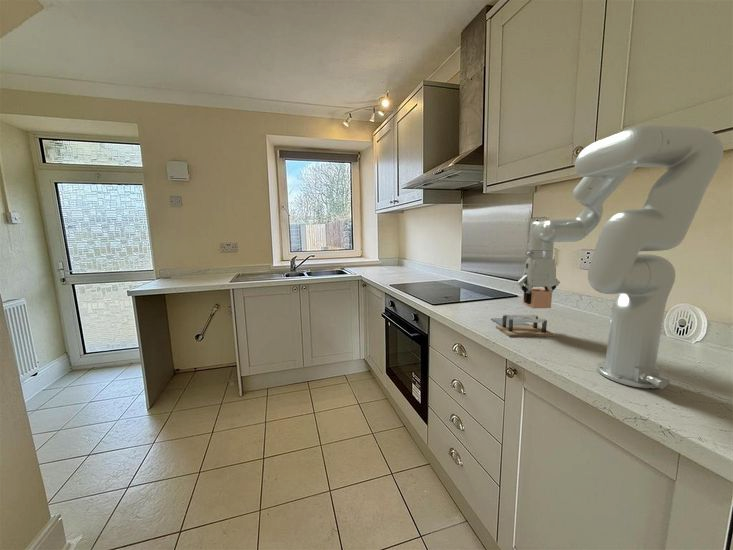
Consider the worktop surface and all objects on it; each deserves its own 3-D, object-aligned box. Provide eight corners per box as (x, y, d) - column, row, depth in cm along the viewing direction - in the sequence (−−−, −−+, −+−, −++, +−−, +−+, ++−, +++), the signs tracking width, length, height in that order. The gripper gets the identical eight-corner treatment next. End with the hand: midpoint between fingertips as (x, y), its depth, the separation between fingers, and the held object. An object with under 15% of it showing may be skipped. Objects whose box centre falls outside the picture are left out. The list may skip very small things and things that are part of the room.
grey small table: (546, 332, 104) (548, 320, 104) (513, 333, 104) (514, 321, 103) (532, 325, 113) (533, 313, 112) (501, 326, 112) (502, 314, 111)
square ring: (550, 308, 106) (552, 291, 105) (533, 308, 105) (534, 292, 104) (539, 303, 112) (540, 288, 111) (522, 304, 112) (523, 288, 111)
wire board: (553, 335, 104) (553, 333, 104) (509, 336, 103) (509, 334, 103) (535, 326, 114) (535, 324, 114) (495, 327, 113) (495, 325, 113)
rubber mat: (529, 325, 115) (529, 324, 115) (501, 326, 114) (502, 325, 114) (516, 319, 124) (516, 317, 123) (491, 319, 123) (491, 318, 123)
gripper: (523, 256, 102) (520, 306, 104) (571, 255, 103) (566, 304, 105) (511, 254, 109) (508, 301, 112) (556, 254, 110) (552, 300, 113)
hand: (536, 302), depth 109 cm, fingers closed on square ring, 6 cm apart
